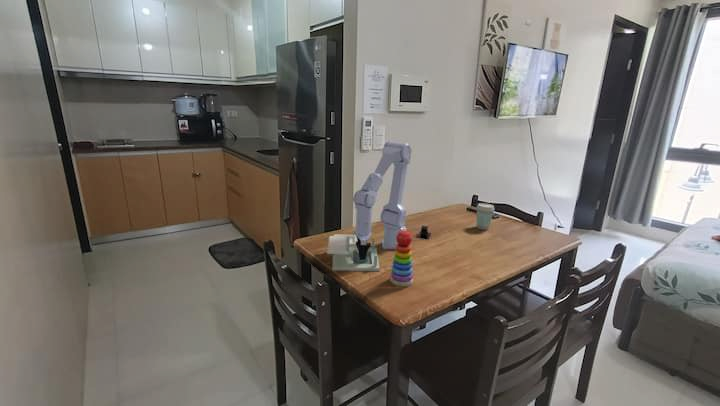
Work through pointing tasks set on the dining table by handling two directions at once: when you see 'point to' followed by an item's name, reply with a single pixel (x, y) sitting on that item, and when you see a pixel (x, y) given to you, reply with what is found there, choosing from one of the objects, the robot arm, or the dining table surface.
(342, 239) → the cover
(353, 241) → the dish
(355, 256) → the puzzle board
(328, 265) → the dining table surface
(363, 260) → the block
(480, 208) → the coffee cup
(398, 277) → the stacking toy
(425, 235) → the black box
